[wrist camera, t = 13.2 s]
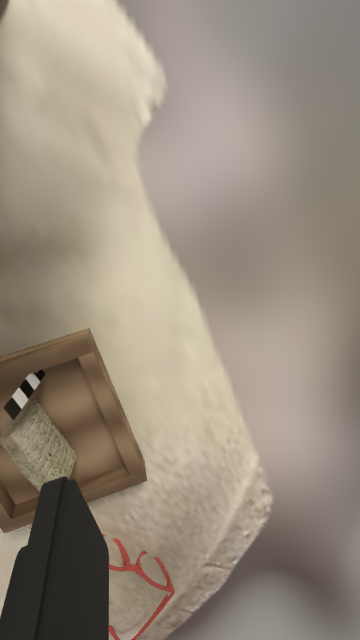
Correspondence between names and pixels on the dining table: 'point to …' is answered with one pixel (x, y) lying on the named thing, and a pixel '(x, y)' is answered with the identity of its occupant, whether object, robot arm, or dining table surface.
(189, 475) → the dining table surface
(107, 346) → the dining table surface
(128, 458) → the wooden tray
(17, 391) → the cuneiform tablet
